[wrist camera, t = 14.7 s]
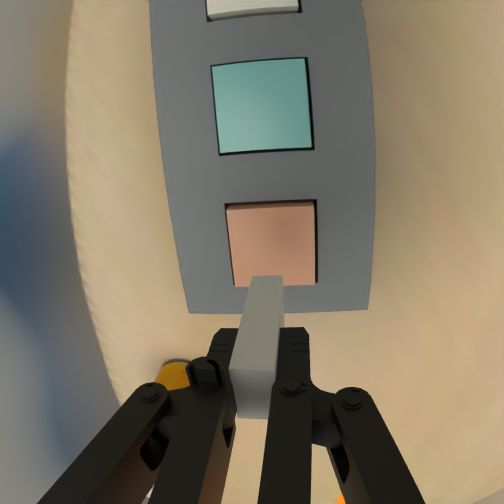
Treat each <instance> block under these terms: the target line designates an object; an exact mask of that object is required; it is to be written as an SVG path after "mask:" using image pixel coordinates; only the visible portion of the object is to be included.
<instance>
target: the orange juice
mask: <svg viewBox="0 0 504 504" xmlns="http://www.w3.org/2000/svg"><path fill="white" fill-rule="evenodd" d="M338 504H345V501H344V498H343V495H341V496H340V497H339V498H338Z"/></svg>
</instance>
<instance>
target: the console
mask: <svg viewBox="0 0 504 504" xmlns="http://www.w3.org/2000/svg"><path fill="white" fill-rule="evenodd" d="M149 3H150V29H151V48H152V63H153V76H154V88H155V99H156V109H157V119H158V128H159V137H160V145H161V153H162V161H163V168H164V175H165V183H166V189H167V196H168V203H169V209H170V215H171V222H172V228H173V233H174V239H175V245H176V250H177V256H178V261H179V267H180V272H181V277H182V282H183V287H184V292H185V297H186V302H187V307H188V311H189V313H199V314H243V310H244V306H245V302H246V298H247V294H248V290H249V287H235V281H234V273H233V264H232V256H231V247H230V239H229V230H228V221H227V212H226V210H227V208H228V207H229V206H230V204H231V203H238V202H255V201H275V200H298V199H314V204H315V285H292V286H283V297H284V313H306V312H332V311H352V310H368V302H369V292H370V282H371V270H372V256H373V240H374V217H375V135H374V113H373V98H372V85H371V73H370V63H369V54H368V46H367V38H366V31H365V24H364V17H363V11H362V5H361V0H298V3H299V11H300V13H292V14H273V15H261V16H250V17H241V18H233V19H226V20H219V21H212V19H211V18H210V17H209V16H208V12H207V0H149ZM285 59H304V60H305V64H306V73H307V84H308V96H309V109H310V123H311V138H312V147H302V148H280V149H263V150H249V151H236V152H225V153H220V146H219V136H218V126H217V116H216V105H215V95H214V84H213V73H212V67H214V66H221V65H229V64H237V63H247V62H257V61H269V60H285Z"/></svg>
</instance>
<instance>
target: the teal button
mask: <svg viewBox="0 0 504 504" xmlns="http://www.w3.org/2000/svg"><path fill="white" fill-rule="evenodd" d="M212 73H213V84H214V95H215V105H216V116H217V126H218V136H219V146H220V153H225V152H236V151H249V150H263V149H280V148H302V147H311V133H310V118H309V105H308V92H307V81H306V70H305V60H304V59H285V60H269V61H257V62H247V63H237V64H229V65H221V66H214V67H212Z"/></svg>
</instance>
